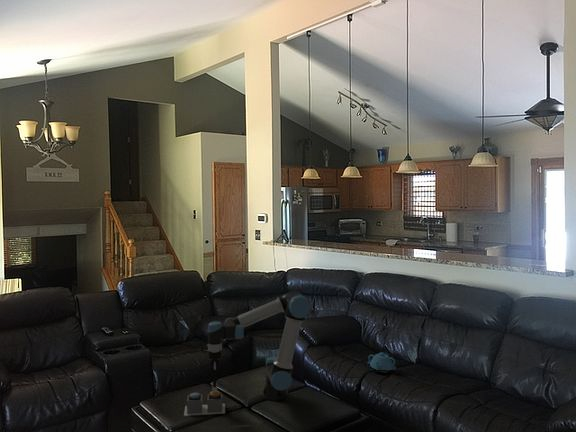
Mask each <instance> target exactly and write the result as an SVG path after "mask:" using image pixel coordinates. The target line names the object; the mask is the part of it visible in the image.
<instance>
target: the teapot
mask: <svg viewBox="0 0 576 432" xmlns="http://www.w3.org/2000/svg"><path fill="white" fill-rule="evenodd" d="M371 357H372V358H371ZM395 363H396V359H395V358H393V357H390V356H389V355H388V354H386V353H384V352H379V353H376V354H375V355H374V354H370V355H368V362H367V363H366V364H370V366H371V367H372V368H374V369H376V370H392V371H396V370H397V367H396V364H395ZM370 366H369V367H370Z"/></svg>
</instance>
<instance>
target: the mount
mask: <svg viewBox="0 0 576 432" xmlns="http://www.w3.org/2000/svg"><path fill="white" fill-rule="evenodd" d="M199 394H200V393H199ZM186 398H187V399H186V405H185V406H184V411H183V412H184V413H183V416H184V417H186V416H187V417H188V416H200V415H204V416H205V415H219V414H226V404H225V403H223V393H221V392H220V395H219V399H211V395H210V393H207V404H203V394H202V393H201V394H200V397H199V400H191V398H190V394H187V397H186Z"/></svg>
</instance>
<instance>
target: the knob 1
mask: <svg viewBox="0 0 576 432" xmlns="http://www.w3.org/2000/svg"><path fill="white" fill-rule="evenodd" d="M189 395H190V398H191V400H199V397H200V392H192V393H190V394H189Z"/></svg>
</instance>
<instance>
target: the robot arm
mask: <svg viewBox="0 0 576 432" xmlns="http://www.w3.org/2000/svg"><path fill="white" fill-rule="evenodd" d="M310 309H311V307H310V302H309V300H308V299H307V298H306V296H304V295H303V294H302V293H301V292H299V291H295V290H294V291H289V292H287V293H285V294H282V295H279V296H278V297H277V298H276V299H274V300H272V301H270V302H267V303H266V304H263V305H259V306H258V307H256V308H254V309H251V310H249V311H247V312H244V313H241V314H239V315H238V316H237V315H236V316H234V317H228V318H226V319H225V320H224V324H222V322H221V321H211V322H209V323H208V327H207V344H206V347H207V358H208V359H210V364H211V370H212V376H211V377H212V378H211V379H210V380H211V381H210V382H211V391H212V393H217V391H218V380H219V378H218V369H219V359H221V358H222V357H223V355H222V352H223V351H222V350H223V348H222V347H223V342H222V341H223V340H242V339H243V338H244V336H245V335H244V334H245V333H244V331H245V330H244V328H246V327H248V326H250V325H253V324H255V323H258V322H260V321H262V320H264V319H268V318H270V317H272V316H274V315H276V314H280V313H285V314H284V318H285V324H284V328H283V332H282V337H281V339H280V344H279V349H278V352H277V356H269V357H267V358H266V359H265V385H264V388H263V391H262V397H263V398H264V399H265V400H268V401H275V402H276V401H278V400H279V401H283V400H286V399H287V398H288V397H289V390H288V388H290V386H291V385H292V383H293V376H292V373H293V369H294V366H293V364H292V363H293V356H294V354H295V350H296V346H297V342H298V337H299V334H300V329H301V325H302V323H303V322H305V321H306V320H305V319H306V316H307V315H309V312H310V311H311V310H310ZM285 398H286V399H285Z"/></svg>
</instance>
